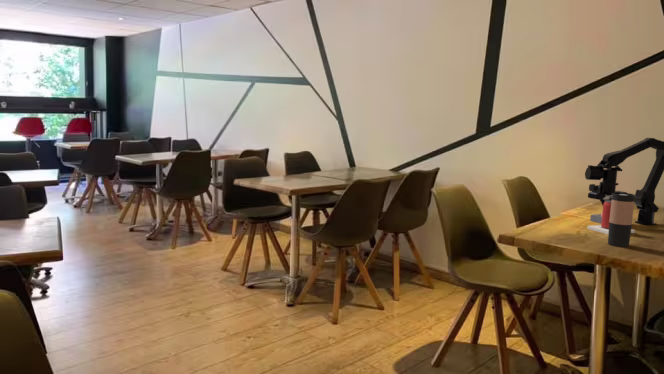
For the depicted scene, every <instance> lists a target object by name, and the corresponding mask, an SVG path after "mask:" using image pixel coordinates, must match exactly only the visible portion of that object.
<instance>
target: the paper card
mask: <svg viewBox="0 0 664 374" xmlns="http://www.w3.org/2000/svg"><path fill="white" fill-rule="evenodd" d="M587 229H588V230H591V231H595V232H598V233H600V234H601V233H602V234H605V235H608V234H609V229H605V228H602V227H601V224H599V225H587ZM635 233H636V230H635V229H632V228H631V234H635Z"/></svg>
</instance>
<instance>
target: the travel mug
mask: <svg viewBox="0 0 664 374" xmlns="http://www.w3.org/2000/svg"><path fill="white" fill-rule="evenodd" d="M634 198H635V193H634V194H633V193H629V192H627V193H619V192H616V193H612V202H611V211H610V220H609V234H607V244H608V245H610V246H613V247H617V248H618V247H619V248H628V247H629V245H630V240H631V234H632V233H631V229H632V226H633V218H634V206H635V205H634V204H635V203H634Z"/></svg>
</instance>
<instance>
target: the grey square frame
mask: <svg viewBox="0 0 664 374" xmlns="http://www.w3.org/2000/svg"><path fill="white" fill-rule="evenodd" d="M589 221H590V222H593V223H599V224H601V221H602V216H601V213H595V214H590V220H589Z"/></svg>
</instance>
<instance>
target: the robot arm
mask: <svg viewBox="0 0 664 374" xmlns="http://www.w3.org/2000/svg"><path fill="white" fill-rule="evenodd" d="M647 149H653V150H656V151H655V161H654V164H653V165H652V168H651V170H650V172H649V174H648V177H646V178H647V179H646V181H645V183H644V185H643V187H642V188H641V189H636V190H635V193H634V195H635V198H634V204H635V206H636V209H637V210H638V215H637V220H635V221H634V223H637V224H641V225H646V226H649V225H657V222H654V221H655V213H658V212H659V209H660V208H659V207H658V206H657V205H656V203H655V200H656V189H657V187H658V184H659V182H660V180H661V178H662V176H663V175H664V140H660V139H658V138H657V139H656V138H654V137H646V138H644V139H642V140H640V141H638V142H636V143H633V144H632V145H630V146H627V147H624V148H623V149H621V150H620V149H619V150H615V151H610V152H607V153H605V154H603V156H602V160H600V162H599V163H598V164H597V165H591V164H590V165H589V164H588V166H587V167H586V169H585V172H584V178H585V180H587V181H599V184H597V185H596V184H595V183H591V184H589V185H588V186H589V187H588V190H589V192H587V198H588V199H593V200H597V201H600V203H601V205H602V206H603V204H604V202H605V200H612V193H616V192H619V193H628V192H627V191H621V190H616V189H617V187H616V186H619V182H617V179H618V178H617V177H618V172H623V168H621V167H620V166H619V165H620V164H622V163H623V162H625V161H626V159H628V158H630V157H633V156H634V155H636V154H639V153H641V152H643V151H645V150H647Z"/></svg>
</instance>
